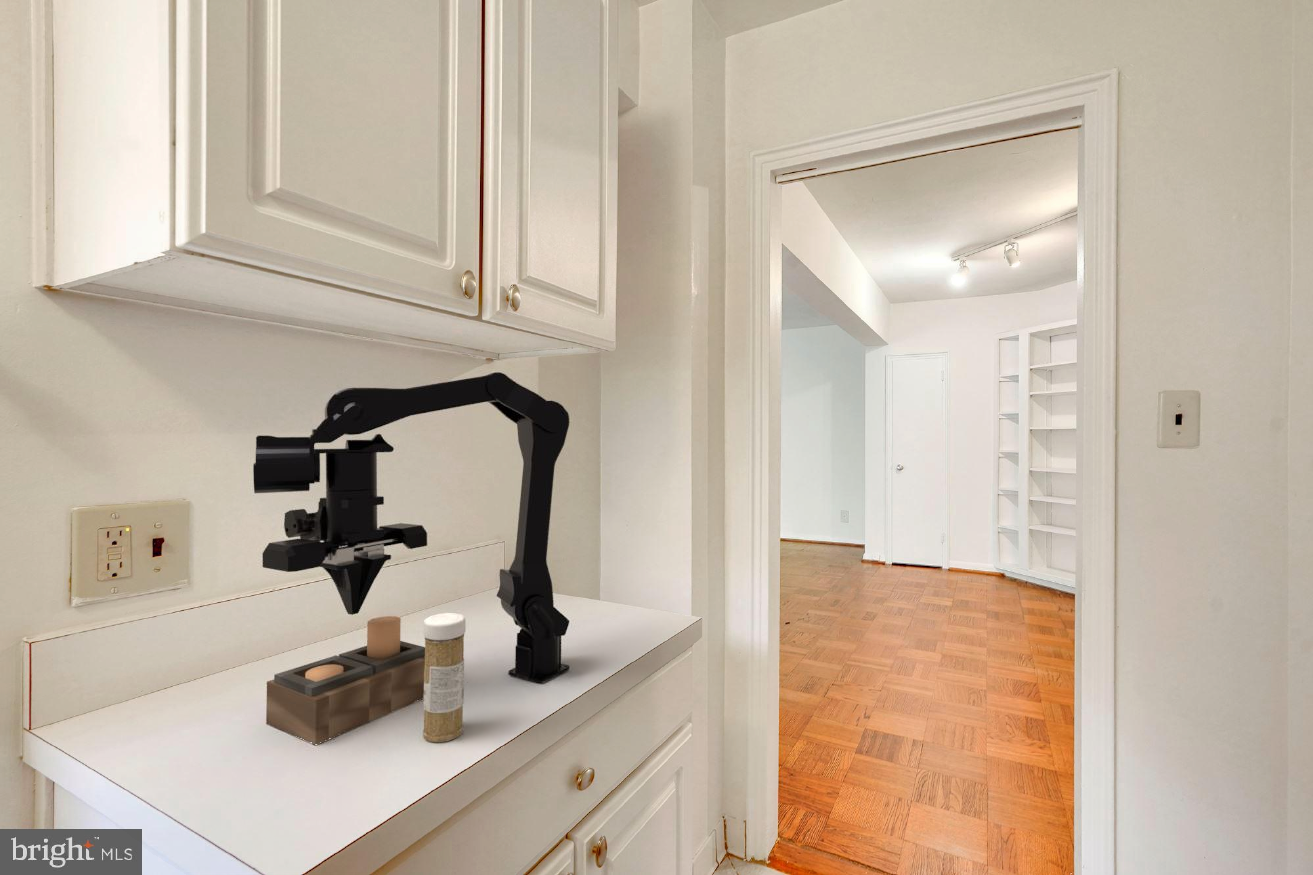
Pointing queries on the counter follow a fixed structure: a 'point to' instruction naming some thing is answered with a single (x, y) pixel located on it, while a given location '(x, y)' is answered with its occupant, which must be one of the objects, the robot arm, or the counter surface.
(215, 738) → the counter surface
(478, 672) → the counter surface
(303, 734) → the socket block
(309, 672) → the peg
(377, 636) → the peg
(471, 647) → the counter surface
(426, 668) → the sprinkles bottle
